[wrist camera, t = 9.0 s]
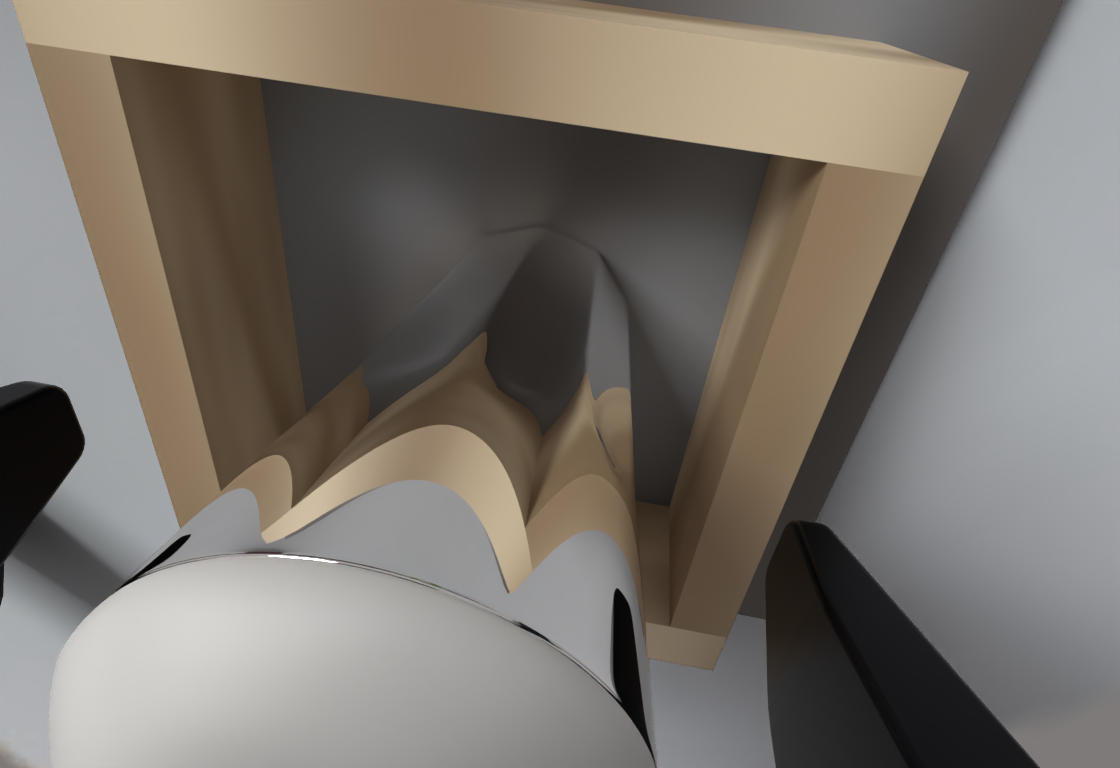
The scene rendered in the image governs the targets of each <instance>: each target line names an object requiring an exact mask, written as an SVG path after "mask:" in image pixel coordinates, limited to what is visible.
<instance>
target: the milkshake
mask: <svg viewBox="0 0 1120 768" xmlns="http://www.w3.org/2000/svg"><path fill="white" fill-rule="evenodd" d="M49 750H50V768H658V765H657V751H656V738H655V726H654V715H653V703H652V691H651V679H650V667H649V655H648V644H647V632H646V620H645V608H644V596H643V584H642V573H641V561H640V548H639V536H638V524H637V509H636V493H635V471H634V447H633V423H632V400H631V377H630V354H629V331H628V310H627V301H626V299H625V297H624V296H623V294H622V292H621V290H620V289H619V287H618V285H617V283H616V282H615V280H614V278H613V276H612V275H611V273H610V271H609V269H608V268H607V266H606V264H605V262H604V260H603V259H602V257H601V255H600V253H599V252H598V251H596V250H594V249H592V248H590V247H588V246H586V245H583V244H581V243H579V242H577V241H575V240H573V239H571V238H568V237H566V236H564V235H562V234H560V233H558V232H556V231H554V230H552V229H550V228H548V227H545V226H538V227H533V228H527V229H522V230H516V231H510V232H504V233H498V234H492V235H487V236H485V237H483V238H482V239H481V240H480V241H479V242H478V243H477V244H476V245H475V246H474V247H473V248H472V250H471V251H470V252H469V253H468V254H467V255H466V256H465V257H464V258H463V259H462V260H461V261H460V262H459V263H458V264H457V265H456V266H455V267H454V268H453V269H452V270H451V271H450V272H449V273H448V274H447V275H446V276H445V277H444V278H443V279H442V281H441V282H440V283H439V284H438V285H437V286H436V287H435V288H434V289H433V290H432V291H431V292H430V293H429V294H428V295H427V296H426V297H425V298H424V299H423V300H422V301H421V302H420V303H419V304H418V305H417V306H416V307H415V308H414V309H413V310H412V311H411V312H410V313H409V315H408V316H407V317H406V318H405V319H404V320H403V321H402V322H401V323H400V324H399V325H398V326H397V327H396V328H395V329H394V330H393V331H392V332H391V333H390V334H389V335H388V336H387V337H386V338H385V339H384V340H383V341H382V342H381V343H380V344H379V345H378V346H377V347H376V348H375V349H374V350H373V351H372V352H371V353H370V354H369V355H368V356H367V357H366V358H365V359H364V360H363V361H362V362H361V363H360V364H359V365H358V366H357V367H356V368H355V369H354V370H353V371H352V372H351V373H350V374H349V375H348V376H346V377H345V378H344V379H343V380H342V381H341V382H340V383H339V384H338V385H337V386H335V387H334V388H333V389H332V390H331V391H330V392H329V393H328V394H327V395H325V396H324V397H323V398H322V399H321V400H320V401H319V402H318V403H316V404H315V405H314V406H313V407H312V408H311V409H310V410H309V411H307V412H306V413H305V414H304V415H303V416H302V417H301V418H300V419H299V420H297V421H296V422H295V423H294V424H293V425H292V426H291V427H290V428H289V429H288V430H287V431H285V432H284V433H283V434H282V435H281V436H280V437H279V438H278V439H277V440H276V441H275V442H274V443H272V444H271V445H270V446H269V447H268V448H267V449H266V450H265V451H264V452H263V453H262V454H261V455H259V456H258V457H257V458H256V459H255V460H254V461H253V462H252V463H251V464H250V465H249V466H248V467H247V468H245V469H244V470H243V471H242V472H241V473H240V474H239V475H238V476H237V477H236V478H235V479H234V480H233V481H231V482H230V483H229V484H228V485H227V486H226V487H225V488H224V489H223V490H222V491H221V492H220V493H219V494H218V495H216V496H215V497H214V498H213V499H212V500H211V501H210V502H209V503H208V504H207V505H206V506H205V507H204V508H202V509H201V510H200V511H199V512H198V513H197V514H196V515H195V516H194V517H193V518H192V519H191V520H190V521H189V522H187V523H186V524H185V525H184V526H183V527H182V528H181V529H180V530H179V531H178V532H177V533H176V534H175V535H173V536H172V537H171V538H170V539H169V540H168V541H167V542H166V543H165V544H164V545H163V546H162V547H161V548H160V549H158V550H157V551H156V552H155V553H154V554H153V555H152V556H151V557H150V558H149V559H148V560H147V561H146V562H145V563H143V564H142V565H141V566H140V567H139V568H138V569H137V570H136V571H135V572H134V573H133V574H132V575H131V576H130V577H129V578H128V579H126V580H125V581H124V582H123V583H122V584H121V585H120V586H119V587H118V588H117V589H116V590H115V591H114V592H113V593H112V594H111V595H110V597H108V598H107V599H106V600H105V601H103V602H102V603H101V604H100V605H98V606H97V607H96V608H95V609H94V610H93V611H92V612H91V613H90V614H89V615H88V616H87V617H86V618H85V619H84V620H83V621H82V622H81V623H80V624H79V626H78V627H77V628H76V629H75V631H74V632H73V633H72V635H71V636H70V637H69V639H68V640H67V642H66V643H65V645H64V647H63V649H62V651H61V652H60V654H59V657H58V660H57V663H56V666H55V669H54V674H53V680H52V686H51V694H50V702H49Z"/></svg>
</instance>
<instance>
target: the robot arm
mask: <svg viewBox="0 0 1120 768" xmlns="http://www.w3.org/2000/svg"><path fill="white" fill-rule="evenodd" d="M84 445H85V438H84V434H83V432H82V429H81V427H80V424H79V422H78V419H77V416H76V414H75V411H74V409H73V406H72V404H71V401H70V399H69V397H68V395H67V393H66V392H65V391H64V390H63V389H62V388H60V387H58V386H55V385H49V384H44V383H38V382H32V381H23V382H18V383H14V384H10V385H7V386H3V387H0V566H1V565H2V564H3V563H4V562H5V560H6V559H7V558H8V557H9V555H10V554H11V553H12V551H13V550H14V549H15V547H16V546H17V545H18V543H19V542H20V541H21V539H22V538H23V536H24V535H25V534H26V532H27V531H28V529H29V528H30V527H31V525H32V524H33V522H34V521H35V520H36V518H37V517H38V515H39V514H40V513H41V511H42V510H43V509H44V507H45V506H46V504H47V503H48V502H49V500H50V499H51V497H52V496H53V495H54V493H55V492H56V490H57V489H58V488H59V486H60V485H61V483H62V482H63V481H64V479H65V478H66V476H67V475H68V474H69V472H70V471H71V469H72V468H73V467H74V465H75V464H76V463H77V461H78V460H79V458H80V457H81V455H82V452H83V450H84ZM765 601H766V645H767V688H768V710H769V719H770V728H771V736H772V743H773V751H774V758H775V765H776V768H1040V767H1039V766H1038V765H1037V764H1036V763H1035V762H1034V760H1033V759H1032V758H1031V757H1030V756H1029V755H1028V753H1027V752H1026V751H1025V750H1024V749H1023V748H1022V747H1021V746H1020V744H1019V743H1018V742H1017V741H1016V740H1015V739H1014V738H1013V736H1012V735H1011V734H1010V733H1009V732H1008V731H1007V730H1006V728H1005V727H1004V726H1003V725H1002V724H1001V723H1000V722H999V720H998V719H997V718H996V717H995V716H994V715H993V714H992V712H991V711H990V710H989V709H988V708H987V707H986V706H985V704H984V703H983V702H982V701H981V700H980V699H979V698H978V697H977V695H976V694H975V693H974V692H973V691H972V690H971V689H970V687H969V686H968V685H967V684H966V683H965V682H964V681H963V679H962V678H961V677H960V676H959V675H958V674H957V673H956V671H955V670H954V669H953V668H952V667H951V666H950V665H949V663H948V662H947V661H946V660H945V659H944V658H943V657H942V656H941V654H940V653H939V652H938V651H937V650H936V649H935V648H934V646H933V645H932V644H931V643H930V642H929V641H928V640H927V638H926V637H925V636H924V635H923V634H922V633H921V632H920V630H919V629H918V628H917V627H916V626H915V625H914V624H913V622H912V621H911V620H910V619H909V618H908V617H907V616H906V615H905V613H904V612H903V611H902V610H901V609H900V608H899V607H898V605H897V604H896V603H895V602H894V601H893V600H892V599H891V597H890V596H889V595H888V594H887V593H886V592H885V591H884V589H883V588H882V587H881V586H880V585H879V584H878V583H877V581H876V580H875V579H874V578H873V577H872V576H871V575H870V574H869V572H868V571H867V570H866V569H865V568H864V567H863V566H862V564H861V563H860V562H859V561H858V560H857V559H856V558H855V556H854V555H853V554H852V553H851V552H850V551H849V550H848V548H847V547H846V546H845V545H844V544H843V543H842V542H841V540H840V539H839V538H838V537H837V536H836V535H835V534H834V533H833V531H832V530H831V529H830V528H828V527H827V526H826V525H823V524H819V523H814V522H808V521H803V520H797V519H795V520H791V521H789V522H788V523H787V525H786V526H785V528H784V530H783V532H782V534H781V537H780V539H779V541H778V544H777V546H776V548H775V550H774V553H773V555H772V557H771V559H770V562H769V564H768V567H767V571H766V579H765Z"/></svg>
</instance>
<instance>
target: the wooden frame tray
mask: <svg viewBox="0 0 1120 768" xmlns="http://www.w3.org/2000/svg"><path fill="white" fill-rule="evenodd" d="M12 1H13V4H14V7H15V10H16V13H17V16H18V20H19V23H20V26H21V29H22V32H23V35H24V39H25V42H26V45H27V48H28V51H29V54H30V57H31V61H32V64H33V67H34V70H35V73H36V76H37V79H38V83H39V86H40V89H41V92H42V95H43V98H44V102H45V105H46V108H47V111H48V114H49V117H50V120H51V124H52V127H53V130H54V133H55V136H56V139H57V142H58V146H59V149H60V152H61V155H62V158H63V161H64V164H65V168H66V171H67V174H68V177H69V180H70V183H71V187H72V190H73V193H74V196H75V199H76V202H77V205H78V209H79V212H80V215H81V218H82V221H83V224H84V227H85V231H86V234H87V237H88V240H89V243H90V246H91V249H92V253H93V256H94V259H95V262H96V265H97V268H98V272H99V275H100V278H101V281H102V284H103V287H104V290H105V294H106V297H107V300H108V303H109V306H110V309H111V312H112V316H113V319H114V322H115V325H116V328H117V331H118V335H119V338H120V341H121V344H122V347H123V350H124V353H125V357H126V360H127V363H128V366H129V369H130V372H131V375H132V379H133V382H134V385H135V388H136V391H137V394H138V397H139V401H140V404H141V407H142V410H143V413H144V416H145V420H146V423H147V426H148V429H149V432H150V435H151V438H152V442H153V445H154V448H155V451H156V454H157V457H158V460H159V464H160V467H161V470H162V473H163V476H164V479H165V482H166V486H167V489H168V492H169V495H170V498H171V501H172V505H173V508H174V511H175V514H176V517H177V520H178V523H179V527H180V529H181V528H182V527H183V526H184V525H185V524H186V523H187V522H189V521H190V520H191V519H192V518H193V517H194V516H195V515H196V514H197V513H198V512H199V511H200V510H201V509H202V508H204V507H205V506H206V505H207V504H208V503H209V502H210V501H211V500H212V499H213V498H214V497H215V496H216V495H218V494H219V493H220V492H221V491H222V490H223V489H224V488H225V487H226V486H227V485H228V484H229V483H230V482H231V481H233V480H234V479H235V478H236V477H237V476H238V475H239V474H240V473H241V472H242V471H243V470H244V469H245V468H247V467H248V466H249V465H250V464H251V463H252V462H253V461H254V460H255V459H256V458H257V457H258V456H259V455H261V454H262V453H263V452H264V451H265V450H266V449H267V448H268V447H269V446H270V445H271V444H272V443H274V442H275V441H276V440H277V439H278V438H279V437H280V436H281V435H282V434H283V433H284V432H285V431H287V430H288V429H289V428H290V427H291V426H292V425H293V424H294V423H295V422H296V421H297V420H299V419H300V418H301V417H302V416H303V415H304V414H305V413H306V412H307V411H309V410H310V409H311V408H312V407H313V406H314V405H315V404H316V403H318V402H319V401H320V400H321V399H322V398H323V397H324V396H325V395H327V394H328V393H329V392H330V391H331V390H332V389H333V388H334V387H335V386H337V385H338V384H339V383H340V382H341V381H342V380H343V379H344V378H345V377H346V376H348V375H349V374H350V373H351V372H352V371H353V370H354V369H355V368H356V367H357V366H358V365H359V364H360V363H361V362H362V361H363V360H364V359H365V358H366V357H367V356H368V355H369V354H370V353H371V352H372V351H373V350H374V349H375V348H376V347H377V346H378V345H379V344H380V343H381V342H382V341H383V340H384V339H385V338H386V337H387V336H388V335H389V334H390V333H391V332H392V331H393V330H394V329H395V328H396V327H397V326H398V325H399V324H400V323H401V322H402V321H403V320H404V319H405V318H406V317H407V316H408V315H409V313H410V312H411V311H412V310H413V309H414V308H415V307H416V306H417V305H418V304H419V303H420V302H421V301H422V300H423V299H424V298H425V297H426V296H427V295H428V294H429V293H430V292H431V291H432V290H433V289H434V288H435V287H436V286H437V285H438V284H439V283H440V282H441V281H442V279H443V278H444V277H445V276H446V275H447V274H448V273H449V272H450V271H451V270H452V269H453V268H454V267H455V266H456V265H457V264H458V263H459V262H460V261H461V260H462V259H463V258H464V257H465V256H466V255H467V254H468V253H469V252H470V251H471V250H472V248H473V247H474V246H475V245H476V244H477V243H478V242H479V241H480V240H481V239H482V238H483V237H485V236H487V235H492V234H498V233H504V232H510V231H516V230H522V229H527V228H533V227H538V226H545V227H548V228H550V229H552V230H554V231H556V232H558V233H560V234H562V235H564V236H566V237H568V238H571V239H573V240H575V241H577V242H579V243H581V244H583V245H586V246H588V247H590V248H592V249H594V250H596V251H598V252H599V253H600V255H601V257H602V259H603V260H604V262H605V264H606V266H607V268H608V269H609V271H610V273H611V275H612V276H613V278H614V280H615V282H616V283H617V285H618V287H619V289H620V290H621V292H622V294H623V296H624V297H625V299H626V301H627V310H628V331H629V354H630V377H631V400H632V423H633V447H634V471H635V493H636V509H637V524H638V536H639V548H640V561H641V573H642V584H643V596H644V608H645V620H646V632H647V644H648V655H649V658H650V659H656V660H661V661H666V662H671V663H676V664H681V665H686V666H692V667H697V668H702V669H707V670H712V671H713V669H714V667H715V665H716V662H717V660H718V658H719V655H720V653H721V651H722V648H723V646H724V644H725V641H726V639H727V637H728V634H729V632H730V630H731V627H732V625H733V623H734V620H735V618H736V615H737V614H741V615H746V616H751V617H756V618H762V619H766V601H765V579H766V571H767V567H768V564H769V562H770V559H771V557H772V555H773V553H774V550H775V548H776V546H777V544H778V541H779V539H780V537H781V534H782V532H783V530H784V528H785V526H786V525H787V523H788V522H789V521H791V520H795V519H797V520H803V521H808V522H814V523H815V521H816V519H817V517H818V515H819V512H820V510H821V508H822V506H823V504H824V502H825V500H826V498H827V496H828V494H829V491H830V489H831V487H832V485H833V483H834V481H835V479H836V477H837V475H838V473H839V470H840V468H841V466H842V464H843V462H844V460H845V458H846V456H847V454H848V452H849V449H850V447H851V445H852V443H853V441H854V439H855V437H856V435H857V433H858V431H859V428H860V426H861V424H862V422H863V420H864V418H865V416H866V414H867V412H868V409H869V407H870V405H871V403H872V401H873V399H874V397H875V395H876V393H877V391H878V388H879V386H880V384H881V382H882V380H883V378H884V376H885V374H886V372H887V370H888V367H889V365H890V363H891V361H892V359H893V357H894V355H895V353H896V351H897V349H898V346H899V344H900V342H901V340H902V338H903V336H904V334H905V332H906V330H907V328H908V325H909V323H910V321H911V319H912V317H913V315H914V313H915V311H916V309H917V306H918V304H919V302H920V300H921V298H922V296H923V294H924V292H925V290H926V288H927V285H928V283H929V281H930V279H931V277H932V275H933V273H934V271H935V269H936V267H937V264H938V262H939V260H940V258H941V256H942V254H943V252H944V250H945V248H946V246H947V243H948V241H949V239H950V237H951V235H952V233H953V231H954V229H955V227H956V225H957V222H958V220H959V218H960V216H961V214H962V212H963V210H964V208H965V206H966V203H967V201H968V199H969V197H970V195H971V193H972V191H973V189H974V187H975V185H976V182H977V180H978V178H979V176H980V174H981V172H982V170H983V168H984V166H985V164H986V161H987V159H988V157H989V155H990V153H991V151H992V149H993V147H994V145H995V143H996V140H997V138H998V136H999V134H1000V132H1001V130H1002V128H1003V126H1004V124H1005V122H1006V119H1007V117H1008V115H1009V113H1010V111H1011V109H1012V107H1013V105H1014V103H1015V101H1016V98H1017V96H1018V94H1019V92H1020V90H1021V88H1022V86H1023V84H1024V82H1025V79H1026V77H1027V75H1028V73H1029V71H1030V69H1031V67H1032V65H1033V63H1034V61H1035V58H1036V56H1037V54H1038V52H1039V50H1040V48H1041V46H1042V44H1043V42H1044V40H1045V37H1046V35H1047V33H1048V31H1049V29H1050V27H1051V25H1052V23H1053V21H1054V19H1055V16H1056V14H1057V12H1058V10H1059V8H1060V6H1061V4H1062V2H1063V0H12Z"/></svg>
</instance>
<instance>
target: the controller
mask: <svg viewBox="0 0 1120 768" xmlns="http://www.w3.org/2000/svg"><path fill="white" fill-rule="evenodd" d="M3 584H4V563H3V564H2V565H1V566H0V605H1V601H2V598H3Z"/></svg>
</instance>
